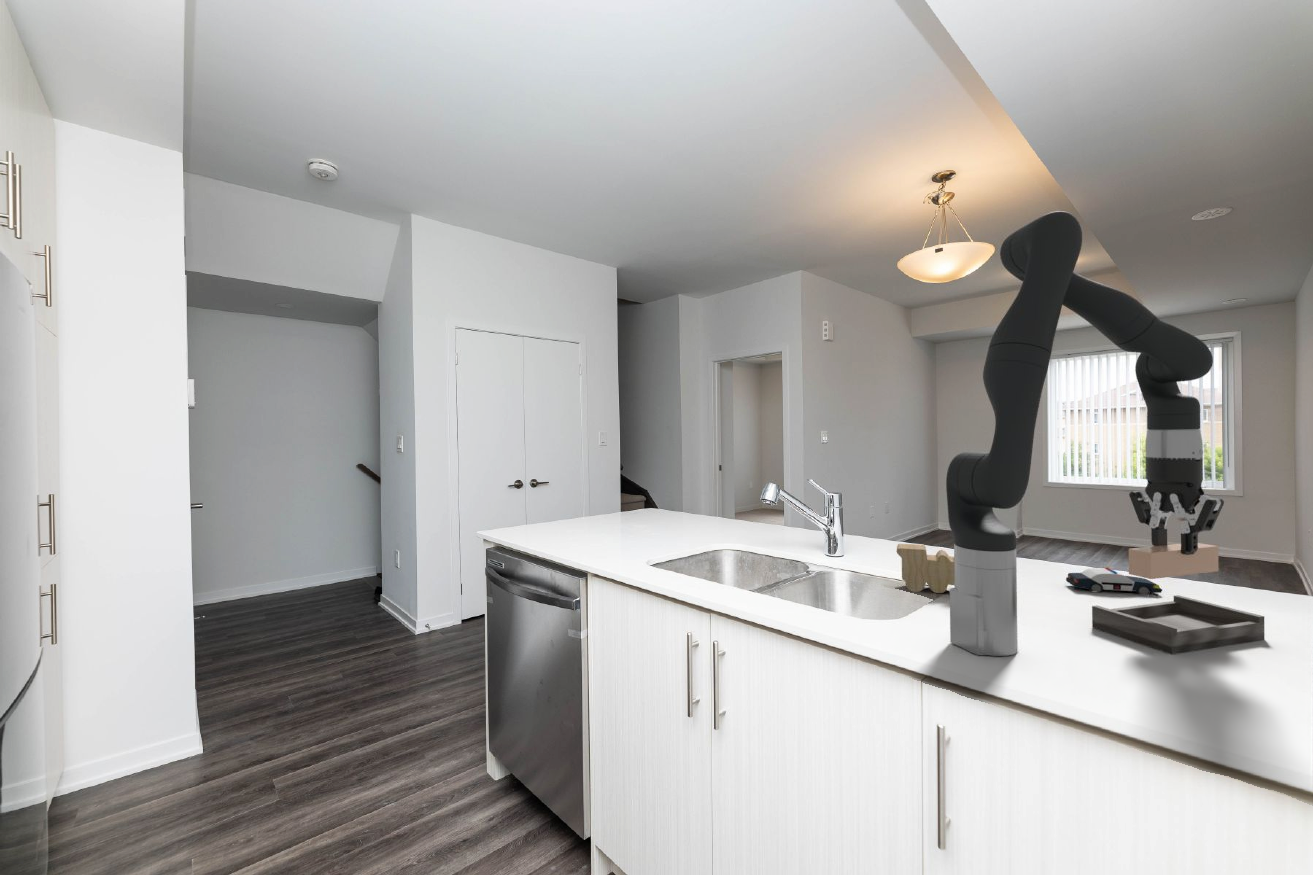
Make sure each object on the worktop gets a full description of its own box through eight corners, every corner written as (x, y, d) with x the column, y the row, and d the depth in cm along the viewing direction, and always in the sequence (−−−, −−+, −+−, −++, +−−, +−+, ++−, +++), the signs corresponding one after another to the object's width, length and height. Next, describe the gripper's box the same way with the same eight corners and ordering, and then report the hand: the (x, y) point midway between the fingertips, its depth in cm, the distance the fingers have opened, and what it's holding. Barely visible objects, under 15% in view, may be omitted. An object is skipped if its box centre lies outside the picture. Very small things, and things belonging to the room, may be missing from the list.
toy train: (981, 598, 124) (980, 552, 124) (896, 590, 131) (896, 547, 131) (978, 591, 129) (978, 547, 129) (897, 584, 136) (896, 542, 136)
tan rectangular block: (1151, 579, 97) (1150, 552, 97) (1128, 573, 101) (1128, 548, 101) (1218, 571, 101) (1218, 546, 101) (1194, 566, 105) (1194, 542, 105)
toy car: (1162, 597, 123) (1162, 574, 123) (1074, 592, 127) (1074, 570, 127) (1149, 590, 127) (1149, 568, 127) (1066, 586, 132) (1065, 564, 132)
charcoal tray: (1171, 654, 92) (1171, 629, 92) (1092, 627, 105) (1092, 605, 105) (1264, 639, 97) (1264, 616, 97) (1178, 615, 110) (1178, 595, 110)
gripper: (1115, 454, 107) (1116, 545, 107) (1205, 457, 93) (1206, 562, 93) (1146, 453, 108) (1146, 542, 109) (1238, 456, 95) (1238, 558, 95)
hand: (1174, 551), depth 101 cm, fingers closed on tan rectangular block, 3 cm apart
